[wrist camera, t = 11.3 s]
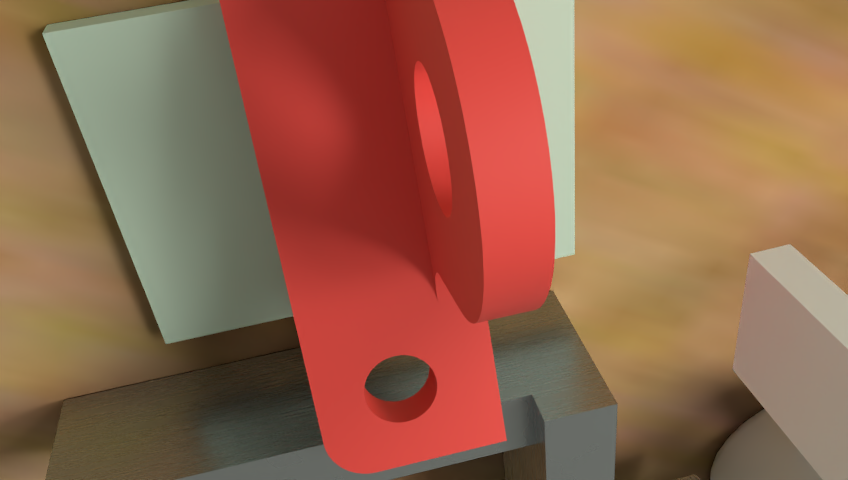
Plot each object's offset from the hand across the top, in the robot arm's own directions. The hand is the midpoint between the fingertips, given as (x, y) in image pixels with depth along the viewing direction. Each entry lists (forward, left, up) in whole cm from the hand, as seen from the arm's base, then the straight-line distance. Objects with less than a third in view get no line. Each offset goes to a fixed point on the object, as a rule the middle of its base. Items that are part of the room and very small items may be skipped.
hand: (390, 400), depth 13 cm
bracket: (+1, -1, -7) cm, 7 cm away
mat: (0, 0, -9) cm, 9 cm away
